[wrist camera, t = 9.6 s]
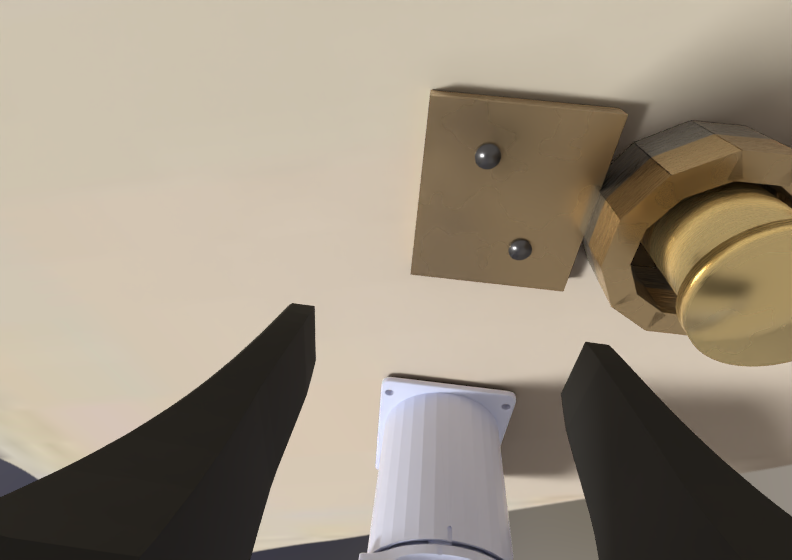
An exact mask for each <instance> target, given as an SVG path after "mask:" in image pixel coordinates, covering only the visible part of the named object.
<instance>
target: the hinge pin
mask: <svg viewBox="0 0 792 560" xmlns="http://www.w3.org/2000/svg"><path fill="white" fill-rule="evenodd" d="M641 243H642V245H643V246H644V248H645V249H646V251H647V252H648V254H649V255H650V257H651V258H652V260H653V261H654V262H655V264H656V265H657V267H658V268H659V270H660V271H661V273H662V274H663V276H664V277H665V279H666V280H667V282H668V283H669V285H670V286H671V287H672V289H673V290H674V292H675V293H676V295H677V298H676V315H677V318H678V320H679V322H680V324H681V326H682V328H683V329H684V331H685V332H686V334H687V335H688V337H689V339H690V340H691V342H692V343H693V345H694V346H695V347H696V348H697V349H698V350H699V351H700V352H702V353H703V354H704V355H706V356H708V357H710V358H711V359H714V360H716V361H719V362H722V363H726V364H731V365H737V366H768V365H776V364H781V363H787V362H791V361H792V208H791V207H789V206H788V205H786V204H785V203H784V202H782V201H781V200H779V199H778V198H777V197H775V196H774V195H772V194H771V193H770V192H768V191H767V190H765V189H764V188H762V187H761V186H760V185H758V184H757V183H749V182H739V181H733V182H730V183H727V184H724V185H721V186H718V187H715V188H712V189H709V190H706V191H704V192H701V193H698V194H695V195H692V196H689V197H686V198H683V199H682V200H681V201H680V202H679V203H677V204H676V205H675V206H674V207H673V208H671V209H670V210H669V211H668V212H667V213H665V214H664V215H663V216H662V217H661V218H659V219H658V220H657V221H656V222H655V223H653V224H652V225H651V226H650V227H648V228H647V229H646V231H645V233H644V235H643V237H642V240H641Z"/></svg>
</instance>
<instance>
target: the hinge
mask: <svg viewBox="0 0 792 560" xmlns="http://www.w3.org/2000/svg"><path fill="white" fill-rule="evenodd" d="M627 116H628V114H626V113H625V112H624V111H622V110H621V109H620V108H613V107H603V106H592V105H582V104H572V103H561V102H551V101H540V100H530V99H519V98H509V97H499V96H488V95H478V94H467V93H457V92H446V91H436V90H431V93H430V102H429V111H428V120H427V129H426V138H425V147H424V156H423V166H422V175H421V184H420V193H419V202H418V211H417V221H416V230H415V239H414V248H413V257H412V266H411V274H412V275H421V276H429V277H438V278H447V279H456V280H465V281H474V282H483V283H492V284H501V285H510V286H519V287H528V288H537V289H546V290H555V291H564V288H565V286H566V283H567V280H568V277H569V275H570V272H571V269H572V266H573V264H574V261H575V258H576V256H577V253H578V250H579V247H580V245H581V242H582V241H583V245H584V248H585V252H586V255H587V259H588V261H589V263H590V265H591V267H592V269H593V271H594V273H595V275H596V277H597V279H598V281H599V283H600V285H601V287H602V289H603V291H604V293H605V295H606V297H607V299H608V301H609V303H610V305H611V307H613V308H614V309H615V310H617V311H618V312H620V313H621V314H623V315H624V316H625V317H627V318H628V319H630V320H631V321H633V322H634V323H635V324H637V325H638V326H640V327H641V328H643V329H644V330H646V331H654V332H663V333H672V334H680V335H687V334H686V332H685V331H684V329H683V328H682V326H681V324H680V322H679V320H678V318H677V315H676V298H677V295H676V293H675V292H674V290H673V289H672V287H671V286H670V285H669V283H668V282H667V280H666V279H665V277H664V276H663V274H662V273H661V271H660V270H659V269H657V268H648V267H639V266H631V265H630V264H631V261H632V259H633V257H634V255H635V253H636V251H637V248H638V246H639V244H640V242H641V240H642V237H643V235H644V233H645V231H646V229H647V228H648V227H650V226H651V225H652V224H653V223H655V222H656V221H657V220H658V219H659V218H661V217H662V216H663V215H664V214H665V213H667V212H668V211H669V210H670V209H671V208H673V207H674V206H675V205H676V204H677V203H679V202H680V201H681V200H682V199H683V198H686V197H689V196H692V195H695V194H698V193H701V192H704V191H706V190H709V189H712V188H715V187H718V186H721V185H724V184H727V183H730V182H733V181H739V182H749V183H757V184H758V185H760V186H761V187H762V188H764V189H765V190H767V191H768V192H770V193H771V194H772V195H774V196H775V197H777V198H778V199H779V200H781V201H782V202H784V203H785V204H786V205H788V206H789V207H791V208H792V148H790V147H788V146H786V145H783V144H781V143H779V142H777V141H775V140H773V139H771V138H769V137H767V136H765V135H763V134H761V133H759V132H757V131H755V130H753V129H751V128H749V127H747V126H742V125H732V124H721V123H711V122H700V121H688V122H686V123H683V124H681V125H678V126H676V127H673V128H670V129H668V130H665V131H663V132H660V133H657V134H655V135H652V136H650V137H647V138H644V139H642V140H639V141H637V142H634V143H633V144H632V145H631V146H630V147H629V148H628V149H627V150H626V151H625V152H623V153H622V154H621V155H620V156H619V157H618V158H617V159H616V160H615V161H614V162H613V163H612V164H611V165H610V163H611V160H612V157H613V155H614V152H615V149H616V146H617V144H618V141H619V138H620V135H621V133H622V130H623V127H624V125H625V122H626V119H627ZM609 165H610V166H609Z"/></svg>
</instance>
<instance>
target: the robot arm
mask: <svg viewBox="0 0 792 560" xmlns="http://www.w3.org/2000/svg"><path fill="white" fill-rule="evenodd" d="M315 361H316V351H315V306H309V305H302V304H294V303H292V304H290V305H289V306H288V307H287V308H286V309H285V310H284V311H283V312H282V313H281V314H280V315H279V316H278V317H277V318H276V319H275V320H274V321H273V322H272V323H271V324H270V325H269V326H268V327H267V328H266V329H265V330H264V331H263V332H262V333H261V334H260V335H259V336H258V337H256V338H255V339H254V340H253V341H252V342H251V343H250V344H249V345H248V346H247V347H246V348H245V349H243V350H242V351H241V352H240V353H239V354H238V355H237V356H236V357H235V358H233V359H232V360H231V361H230V362H229V363H227V364H226V365H225V366H224V367H223V368H221V369H220V370H219V371H218V372H216V373H215V374H214V375H213V376H212V377H210V378H209V379H208V380H207V381H205V382H204V383H203V384H201V385H200V386H199V387H197V388H196V389H195V390H193V391H192V392H191V393H189V394H188V395H187V396H185V397H184V398H182V399H181V400H179V401H178V402H177V403H175V404H174V405H172V406H171V407H169V408H168V409H166V410H165V411H163V412H162V413H160V414H158V415H157V416H155V417H154V418H152V419H151V420H149V421H148V422H146V423H144V424H143V425H141V426H140V427H138V428H136V429H135V430H133V431H131V432H130V433H128V434H126V435H125V436H123V437H121V438H119V439H117V440H115V441H114V442H112V443H110V444H108V445H106V446H105V447H103V448H101V449H99V450H97V451H96V452H94V453H92V454H90V455H88V456H86V457H84V458H82V459H80V460H78V461H76V462H74V463H72V464H70V465H68V466H66V467H64V468H62V469H60V470H58V471H56V472H54V473H52V474H50V475H48V476H45V477H43V478H41V479H39V480H37V481H35V482H33V483H30V484H28V485H26V486H24V487H22V488H20V489H18V490H15V491H13V492H11V493H9V494H7V495H4V496H2V497H0V560H250V558H251V555H252V551H253V548H254V544H255V540H256V537H257V533H258V530H259V526H260V523H261V519H262V516H263V512H264V509H265V505H266V502H267V499H268V495H269V492H270V488H271V485H272V482H273V480H274V477H275V474H276V471H277V468H278V466H279V463H280V461H281V458H282V456H283V453H284V451H285V448H286V446H287V443H288V441H289V438H290V436H291V433H292V431H293V428H294V426H295V423H296V421H297V418H298V416H299V413H300V411H301V408H302V406H303V403H304V400H305V398H306V395H307V392H308V388H309V384H310V381H311V377H312V373H313V369H314V365H315ZM561 397H562V405H563V413H564V420H565V426H566V431H567V435H568V439H569V443H570V446H571V450H572V454H573V457H574V461H575V464H576V468H577V471H578V475H579V478H580V482H581V485H582V489H583V492H584V496H585V499H586V503H587V506H588V510H589V513H590V518H591V522H592V526H593V530H594V534H595V540H596V545H597V551H598V556H599V560H792V517H791V516H790V515H789V514H788V513H786V512H785V511H784V510H782V509H781V508H780V507H779V506H777V505H776V504H775V503H773V502H772V501H771V500H770V499H768V498H767V497H766V496H765V495H763V494H762V493H761V492H760V491H758V490H757V489H756V488H755V487H754V486H752V485H751V484H750V483H749V482H748V481H747V480H745V479H744V478H743V477H742V476H741V475H739V474H738V473H737V472H736V471H735V470H734V469H732V468H731V467H730V466H729V465H728V464H727V463H725V462H724V461H723V460H722V459H721V458H720V457H719V456H718V455H717V454H715V453H714V452H713V451H712V450H711V449H710V448H709V447H708V446H707V445H706V444H705V443H704V442H703V441H702V440H701V439H699V438H698V437H697V436H696V435H695V434H694V433H693V432H692V431H691V430H690V429H689V428H688V427H687V426H686V425H685V424H684V423H683V422H682V421H681V420H680V419H679V418H678V417H677V416H676V415H675V414H674V413H673V412H672V411H671V410H670V409H669V408H668V407H667V406H666V405H665V404H664V403H663V402H662V401H661V400H660V399H659V398H658V396H657V395H656V394H655V393H654V392H653V391H652V390H651V389H650V388H649V387H648V386H647V385H646V384H645V383H644V381H643V380H642V379H641V378H640V377H639V376H638V375H637V374H636V373H635V372H634V371H633V370H632V369H631V367H630V366H629V365H628V364H627V363H626V362H625V361H624V360H623V359H622V358H621V357H620V356H619V355H618V354H617V353H616V352H615V351H614V350H613V349H612V348H611V347H610V346H609V345H605V344H598V343H590V342H585V344H584V346H583V348H582V350H581V352H580V355H579V357H578V359H577V361H576V363H575V365H574V367H573V369H572V372H571V374H570V376H569V378H568V380H567V382H566V384H565V386H564V389H563V391H562V393H561ZM515 403H516V396H515V394H514V393H513V392H510V391H504V390H496V389H488V388H479V387H471V386H463V385H454V384H446V383H438V382H429V381H421V380H413V379H405V378H396V377H386V378H384V379H383V381H382V388H381V401H380V414H379V427H378V440H377V453H376V468H377V469H378V470H379V471H378V478H377V485H376V493H375V500H374V507H373V515H372V522H371V529H370V537H369V544H368V552H367V553H360V556H359V560H514V558H513V550H512V542H511V534H510V525H509V516H508V507H507V499H506V490H505V482H504V473H503V465H502V456H501V448H500V446H501V443H502V440H503V437H504V435H505V432H506V429H507V426H508V423H509V420H510V418H511V415H512V412H513V409H514V406H515Z"/></svg>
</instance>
